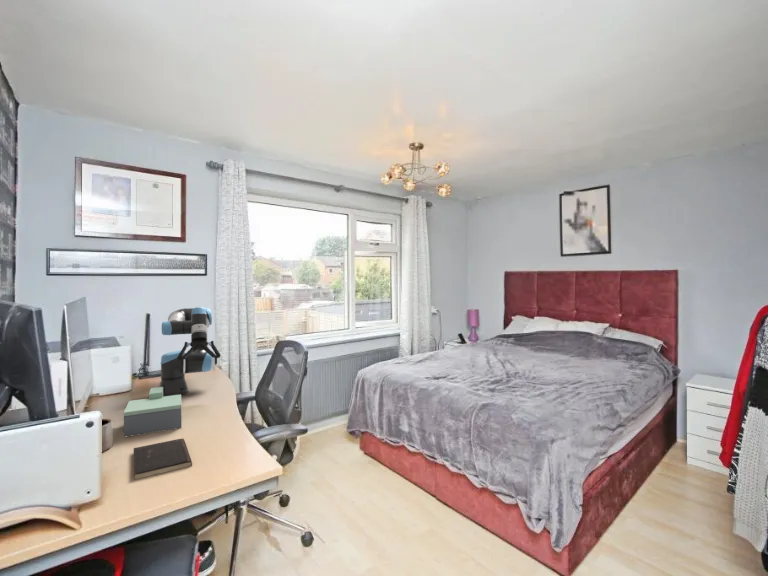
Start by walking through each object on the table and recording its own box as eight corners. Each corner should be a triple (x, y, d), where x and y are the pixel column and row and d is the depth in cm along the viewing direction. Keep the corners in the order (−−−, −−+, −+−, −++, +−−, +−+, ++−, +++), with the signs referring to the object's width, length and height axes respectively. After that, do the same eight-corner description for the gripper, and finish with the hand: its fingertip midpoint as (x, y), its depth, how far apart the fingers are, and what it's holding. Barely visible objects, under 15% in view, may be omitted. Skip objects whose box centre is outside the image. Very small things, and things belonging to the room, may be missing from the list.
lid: (131, 401, 171) (131, 390, 171) (181, 395, 180) (181, 384, 180) (123, 419, 147) (123, 406, 147) (181, 411, 157) (181, 398, 157)
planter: (80, 447, 138) (80, 421, 138) (115, 442, 142) (115, 416, 142) (69, 459, 128) (69, 431, 128) (107, 453, 132) (107, 426, 132)
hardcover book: (133, 481, 113) (133, 474, 113) (133, 454, 132) (133, 448, 132) (192, 467, 122) (192, 460, 122) (184, 443, 141) (184, 437, 141)
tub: (129, 423, 163) (129, 404, 163) (181, 415, 172) (181, 398, 172) (123, 437, 147) (123, 416, 147) (181, 427, 157) (181, 408, 157)
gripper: (172, 331, 191) (171, 370, 181) (224, 330, 204) (226, 366, 193) (172, 338, 197) (171, 376, 186) (223, 336, 209) (224, 372, 199)
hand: (199, 371), depth 190 cm, fingers open, 13 cm apart
